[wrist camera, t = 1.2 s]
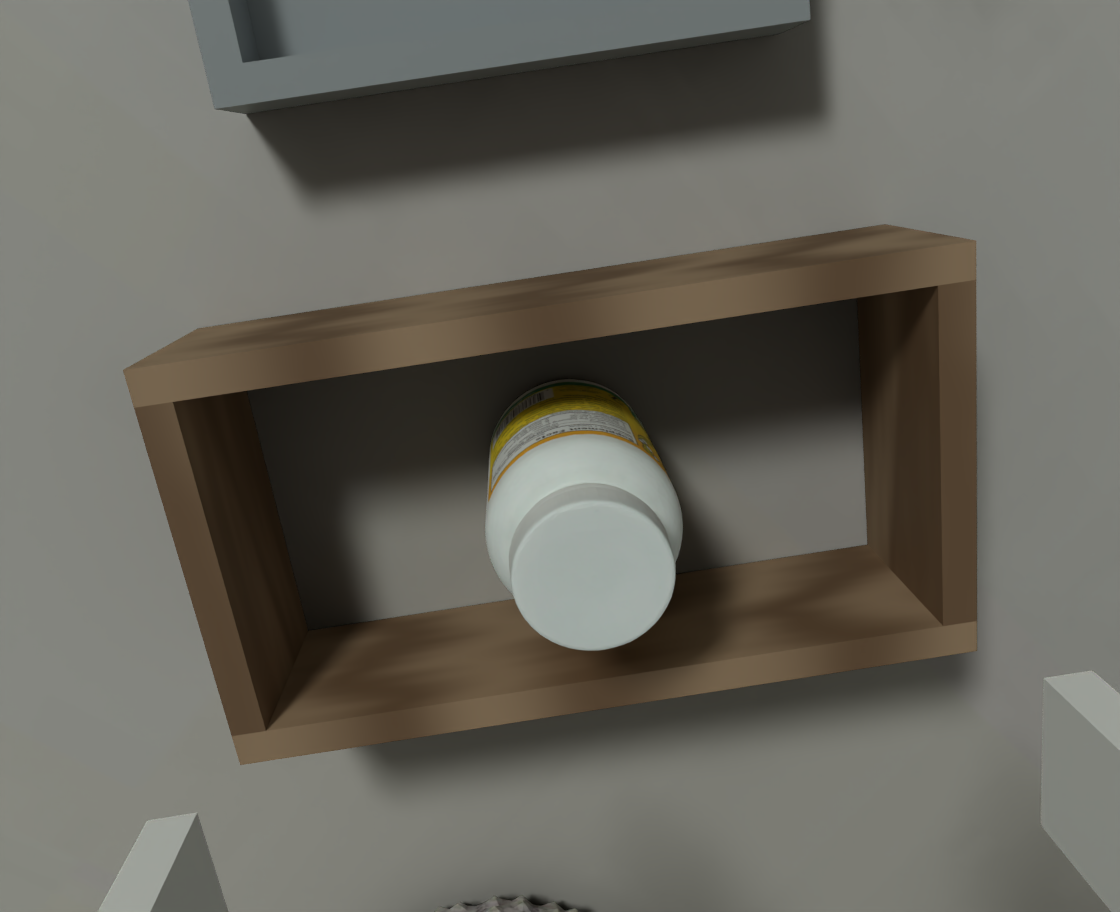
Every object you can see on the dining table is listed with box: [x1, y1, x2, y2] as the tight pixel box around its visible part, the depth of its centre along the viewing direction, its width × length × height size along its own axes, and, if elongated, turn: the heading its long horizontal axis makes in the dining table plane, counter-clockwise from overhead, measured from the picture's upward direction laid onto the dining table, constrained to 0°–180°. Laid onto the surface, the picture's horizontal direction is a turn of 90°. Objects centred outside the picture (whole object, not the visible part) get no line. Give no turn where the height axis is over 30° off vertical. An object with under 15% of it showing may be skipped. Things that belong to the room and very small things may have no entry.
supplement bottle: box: [485, 379, 683, 651], centre depth 27 cm, size 5×5×10 cm
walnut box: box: [123, 224, 977, 765], centre depth 28 cm, size 22×12×6 cm, turn 98°
